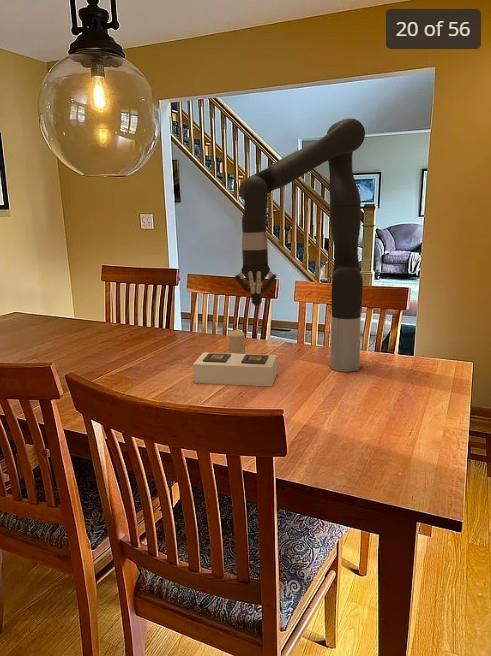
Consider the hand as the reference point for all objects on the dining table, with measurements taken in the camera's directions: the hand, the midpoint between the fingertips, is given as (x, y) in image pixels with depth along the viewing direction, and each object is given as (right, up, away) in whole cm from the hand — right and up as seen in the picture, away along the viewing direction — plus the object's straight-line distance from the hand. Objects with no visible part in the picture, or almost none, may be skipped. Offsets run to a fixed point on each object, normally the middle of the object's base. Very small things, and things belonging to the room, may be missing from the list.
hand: (256, 305), depth 149 cm
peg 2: (0, -23, +3) cm, 23 cm away
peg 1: (-12, -22, +6) cm, 26 cm away
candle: (-6, -17, +24) cm, 31 cm away
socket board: (-6, -22, +4) cm, 24 cm away
